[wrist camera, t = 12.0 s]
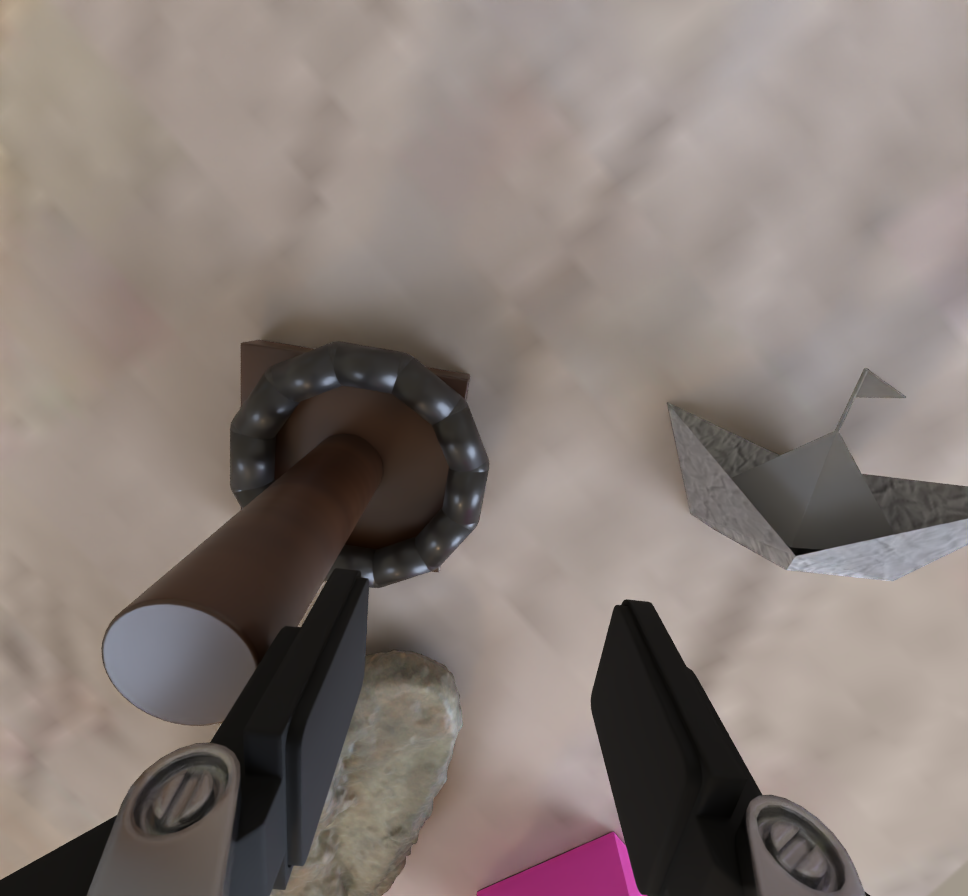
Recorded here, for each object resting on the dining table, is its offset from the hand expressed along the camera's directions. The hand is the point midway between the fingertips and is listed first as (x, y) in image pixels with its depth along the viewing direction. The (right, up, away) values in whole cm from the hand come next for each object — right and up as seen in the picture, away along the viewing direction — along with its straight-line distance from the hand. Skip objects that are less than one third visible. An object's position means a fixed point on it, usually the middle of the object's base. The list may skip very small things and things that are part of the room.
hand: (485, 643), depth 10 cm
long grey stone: (-11, -20, +18) cm, 29 cm away
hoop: (-5, +3, +8) cm, 10 cm away
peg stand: (-6, +4, +10) cm, 13 cm away
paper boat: (+13, +4, +11) cm, 18 cm away
